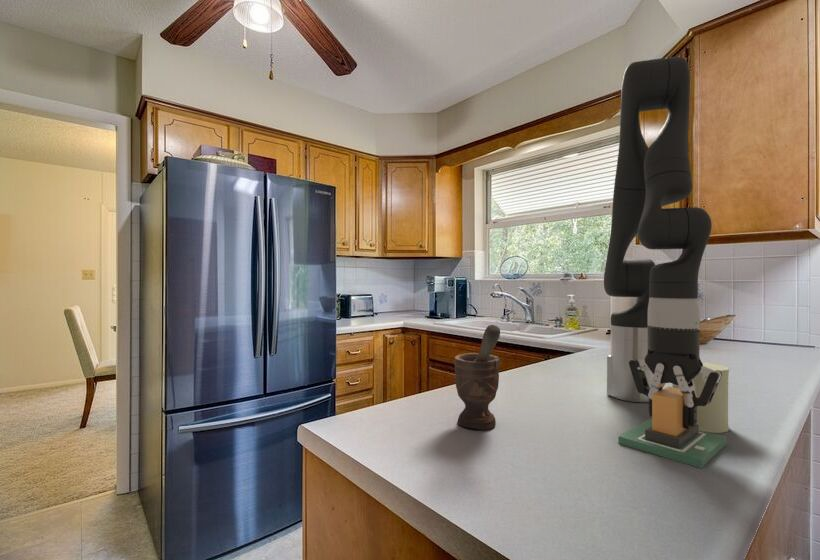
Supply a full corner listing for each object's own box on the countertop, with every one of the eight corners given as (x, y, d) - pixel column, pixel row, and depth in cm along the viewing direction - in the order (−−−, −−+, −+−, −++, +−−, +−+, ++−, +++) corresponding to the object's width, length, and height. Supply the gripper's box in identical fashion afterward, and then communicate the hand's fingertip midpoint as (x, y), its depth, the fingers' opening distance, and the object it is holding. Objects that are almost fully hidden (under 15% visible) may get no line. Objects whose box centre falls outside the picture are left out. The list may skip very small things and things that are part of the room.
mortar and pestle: (521, 431, 75) (522, 323, 75) (489, 441, 70) (490, 326, 70) (476, 414, 85) (476, 318, 85) (445, 422, 80) (445, 320, 80)
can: (718, 419, 82) (718, 360, 82) (738, 435, 74) (738, 369, 74) (665, 414, 85) (666, 357, 85) (678, 429, 77) (679, 365, 77)
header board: (618, 443, 70) (618, 409, 70) (649, 424, 79) (650, 395, 79) (701, 468, 61) (701, 429, 61) (726, 444, 70) (726, 410, 70)
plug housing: (652, 429, 69) (652, 394, 69) (668, 419, 74) (669, 386, 74) (676, 436, 66) (676, 399, 66) (692, 424, 71) (692, 390, 71)
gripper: (620, 322, 73) (619, 417, 73) (717, 330, 62) (716, 442, 62) (637, 319, 78) (636, 409, 78) (730, 326, 67) (729, 430, 67)
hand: (672, 423), depth 70 cm, fingers open, 4 cm apart
